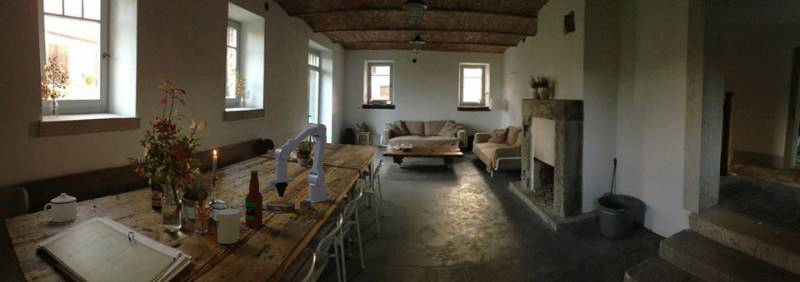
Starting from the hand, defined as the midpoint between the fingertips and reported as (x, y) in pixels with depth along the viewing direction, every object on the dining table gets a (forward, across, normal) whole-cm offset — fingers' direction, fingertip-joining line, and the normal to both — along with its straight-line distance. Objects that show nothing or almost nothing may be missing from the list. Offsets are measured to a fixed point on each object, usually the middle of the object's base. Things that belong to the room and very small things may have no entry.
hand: (281, 196), depth 221 cm
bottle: (+6, +26, +17) cm, 32 cm away
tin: (+4, -1, 0) cm, 5 cm away
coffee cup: (+6, +44, +28) cm, 53 cm away
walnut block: (+6, -9, +9) cm, 14 cm away
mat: (+6, +4, 0) cm, 7 cm away
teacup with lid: (+6, +83, -45) cm, 95 cm away
